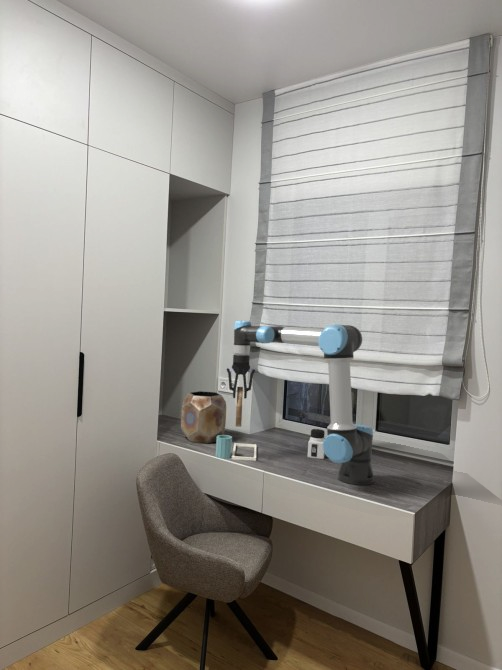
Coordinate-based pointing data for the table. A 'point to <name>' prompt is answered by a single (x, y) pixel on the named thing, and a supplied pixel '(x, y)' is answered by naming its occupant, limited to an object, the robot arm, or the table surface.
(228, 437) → the cup
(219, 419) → the planter
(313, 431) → the container
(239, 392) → the brown wooden bar
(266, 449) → the table surface
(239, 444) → the white rectangular frame
